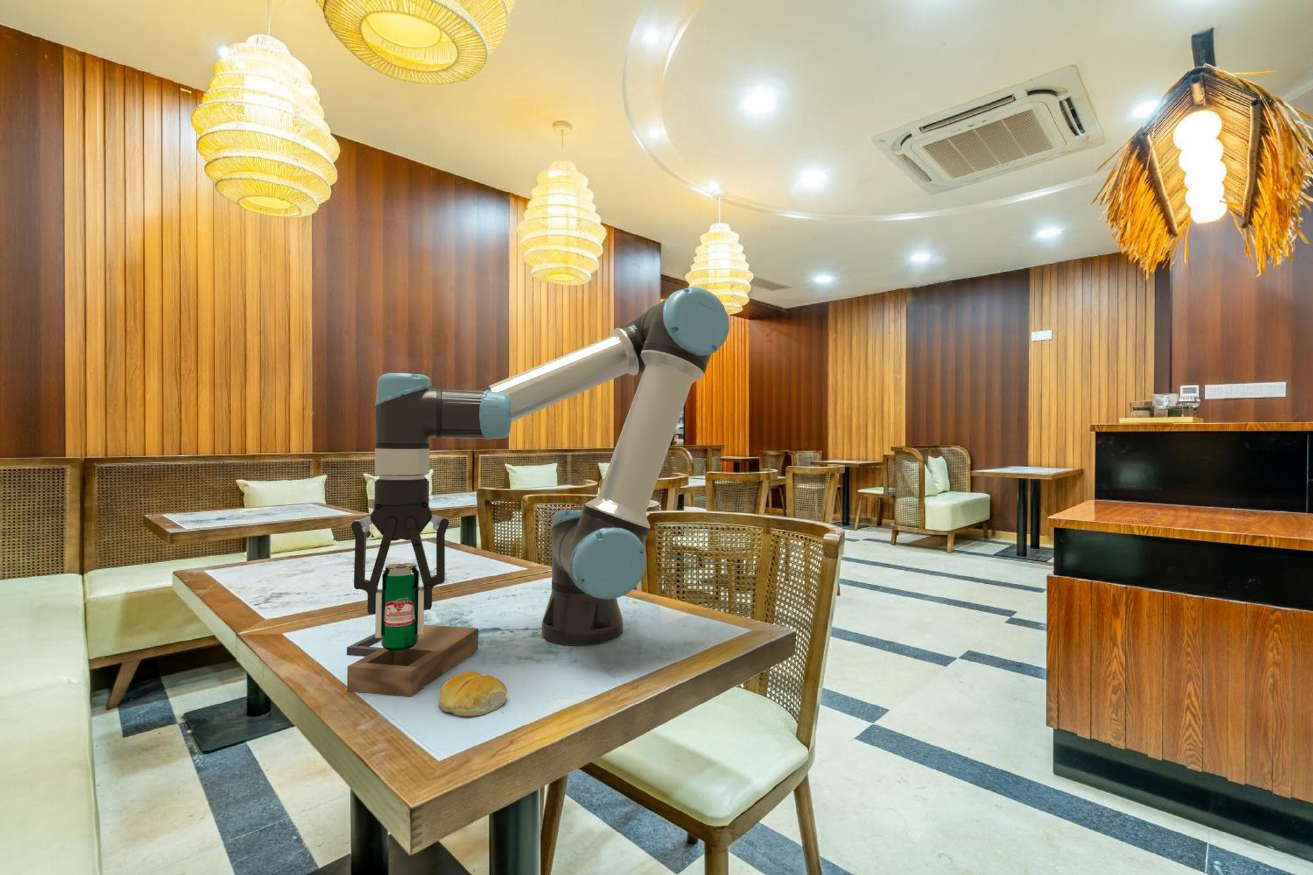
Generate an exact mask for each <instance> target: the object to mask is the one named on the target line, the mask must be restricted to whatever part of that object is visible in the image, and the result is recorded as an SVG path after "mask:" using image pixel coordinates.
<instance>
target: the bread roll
mask: <svg viewBox="0 0 1313 875" xmlns="http://www.w3.org/2000/svg"><path fill="white" fill-rule="evenodd" d="M507 693H508V689H507V686H506V684H505V683H504V682H503V681H502V680H500V679H499V678H498V677H495V676H494V675H487V674H486V675H483V674H482V673H480V672H477V671H464V672H462V673H458V674H456V675H453V676H452V677H450V678H449V679H448V680H446V681H445V682H444V683H443V685H442V687H441V688H440V691H439V695H438V705H439V707H440V709H441V710H442V711H443V712H445V713H448V714H449V713H452V714H453V715H456V716H457V717H477V716H478V717H479V716H483V715H486V714H487V713H490V712H492V711H495V710H497V709H499V708H500V707H502V706H503V705H504V704H505V702H506V699H507Z"/></svg>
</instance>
